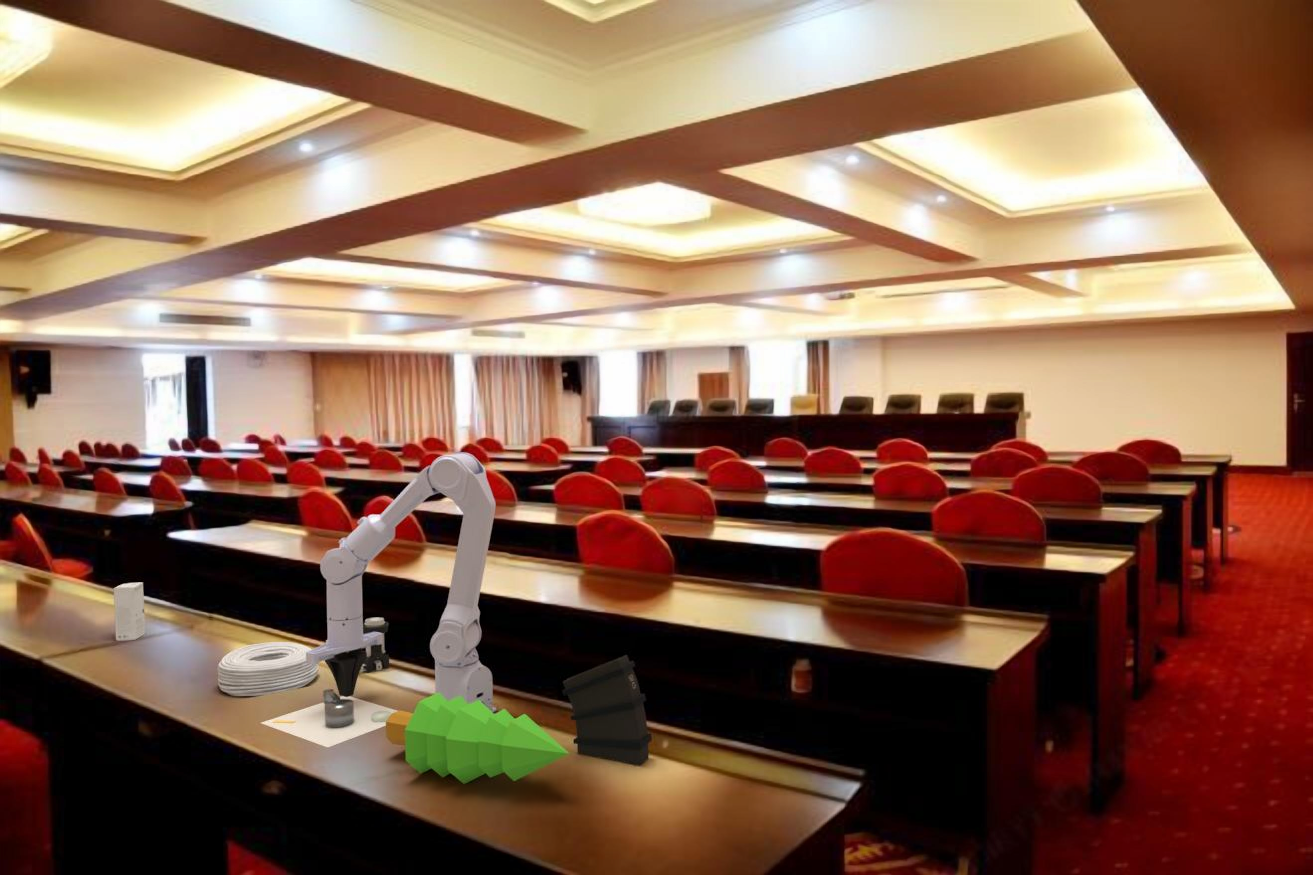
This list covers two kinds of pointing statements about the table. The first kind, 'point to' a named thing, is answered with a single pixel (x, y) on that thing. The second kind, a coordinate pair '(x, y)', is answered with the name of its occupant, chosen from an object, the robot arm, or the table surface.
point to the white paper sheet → (314, 729)
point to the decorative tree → (470, 740)
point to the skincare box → (129, 611)
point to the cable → (265, 669)
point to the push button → (375, 646)
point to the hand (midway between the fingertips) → (346, 694)
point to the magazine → (609, 712)
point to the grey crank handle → (337, 709)
